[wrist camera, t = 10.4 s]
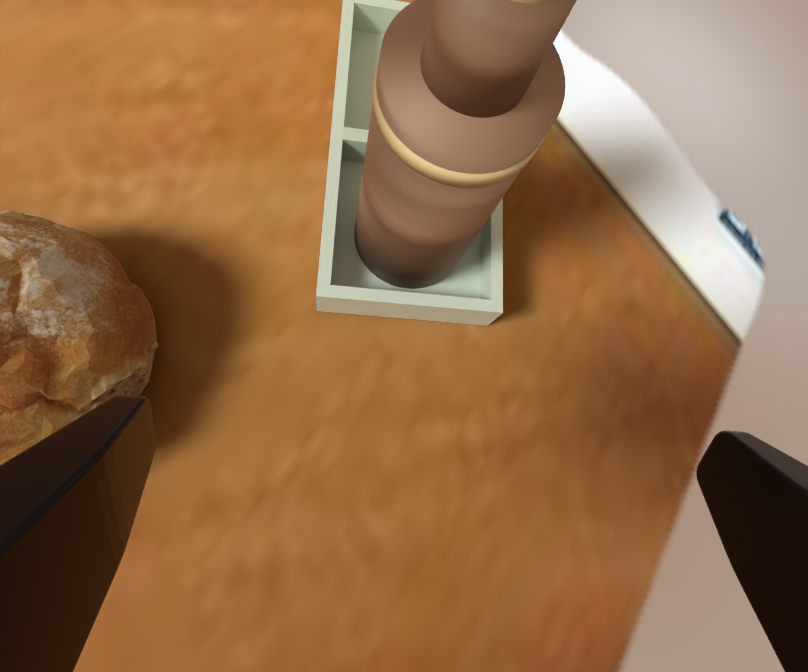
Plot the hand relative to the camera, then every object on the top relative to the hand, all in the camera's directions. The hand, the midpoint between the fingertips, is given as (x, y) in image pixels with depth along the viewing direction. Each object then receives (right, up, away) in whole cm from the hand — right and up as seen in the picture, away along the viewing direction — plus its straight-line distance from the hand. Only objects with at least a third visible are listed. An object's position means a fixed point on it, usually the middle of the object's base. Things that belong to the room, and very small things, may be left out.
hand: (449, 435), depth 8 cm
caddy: (0, +9, +16) cm, 18 cm away
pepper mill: (0, +6, +14) cm, 16 cm away
